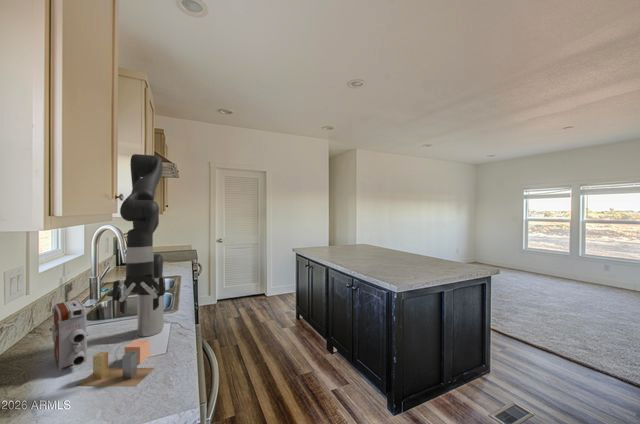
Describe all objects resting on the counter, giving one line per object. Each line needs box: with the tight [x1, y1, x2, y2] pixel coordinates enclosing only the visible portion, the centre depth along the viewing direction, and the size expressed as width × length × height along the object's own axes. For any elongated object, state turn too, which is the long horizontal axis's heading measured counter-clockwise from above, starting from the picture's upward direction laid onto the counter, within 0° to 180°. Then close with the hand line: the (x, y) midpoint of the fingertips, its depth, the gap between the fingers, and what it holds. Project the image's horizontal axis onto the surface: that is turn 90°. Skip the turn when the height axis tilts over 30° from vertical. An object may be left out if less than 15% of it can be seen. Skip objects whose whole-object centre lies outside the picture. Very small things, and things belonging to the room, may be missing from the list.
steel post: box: [121, 352, 138, 379], centre depth 84 cm, size 3×3×7 cm
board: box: [75, 367, 155, 387], centre depth 84 cm, size 9×18×1 cm, turn 90°
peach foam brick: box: [124, 339, 151, 365], centre depth 93 cm, size 5×5×7 cm
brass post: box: [92, 351, 109, 379], centre depth 84 cm, size 3×3×7 cm
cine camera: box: [51, 299, 91, 371], centre depth 92 cm, size 9×19×20 cm, turn 49°
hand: (139, 311), depth 87 cm, fingers open, 8 cm apart
